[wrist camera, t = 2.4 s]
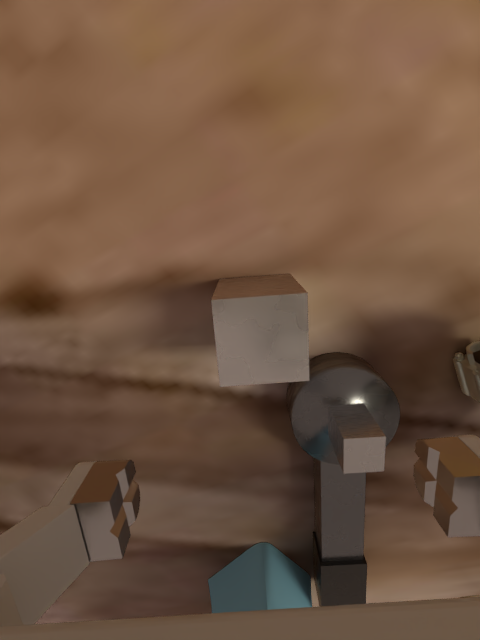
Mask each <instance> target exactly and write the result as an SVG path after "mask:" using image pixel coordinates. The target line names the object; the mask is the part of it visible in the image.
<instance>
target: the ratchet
mask: <svg viewBox="0 0 480 640" xmlns="http://www.w3.org/2000/svg"><path fill="white" fill-rule="evenodd" d="M286 401H287V407H288V411H289V415H290V419H291V424H292V428H293V432H294V435H295V437H296V440H297V441H298V443H299V445H300V446H301V447H302V448H303V450H304V451H306V452H307V453H308V454H309V455H311V456H312V457H314V505H315V532H313V556H314V581H315V586H316V591H317V596H318V601H319V606H336V605H352V604H366V579H367V562H366V560H365V557H364V554H363V548H364V517H365V485H366V472H380V471H384V464H385V447H386V446H387V445H388V444H389V442H390V441H391V440H392V438H393V436H394V435H395V433H396V431H397V428H398V425H399V420H400V408H399V403H398V400H397V398H396V396H395V394H394V392H393V391H392V389H391V388H390V387H389V386H388V385H387V383H386V382H385V381H384V380H383V379H382V378H381V377H380V375H379V374H378V373H377V372H376V371H375V370H374V369H373V368H372V367H371V366H370V365H369V364H368V363H367V362H366V361H364V360H363V359H361V358H359V357H357V356H355V355H352V354H348V353H340V352H337V353H327V354H323V355H320V356H317V357H314V358H313V359H311V360H309V381H299V382H290V383H289V386H288V389H287V396H286Z"/></svg>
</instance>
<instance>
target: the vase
mask: <svg viewBox="0 0 480 640" xmlns="http://www.w3.org/2000/svg"><path fill="white" fill-rule="evenodd" d="M208 584H209V590H210V597H211V606H212V613H224V612H240V611H256V610H272V609H288V608H304V607H312V600H311V578H310V575H309V574H308V573H307V572H305V571H304V570H303V569H302V568H301V567H299V566H298V565H297V564H296V563H294V562H293V561H292V560H290V559H289V558H288V557H287V556H285V555H284V554H283V553H282V552H280V551H279V550H278V549H277V548H275V547H274V546H273V545H271V544H270V543H266V542H264V543H258V544H255V545H254V546H252V547H251V548H249V549H248V550H246V551H245V552H244V553H242V554H241V555H240V556H239V557H237V558H236V559H235V560H233V561H232V562H231V563H229V564H228V565H227V566H225V567H224V568H223V569H222V570H220V571H219V572H218V573H216V574H215V575H214V576H212V577H211V578H210V579H208Z"/></svg>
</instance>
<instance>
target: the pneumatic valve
mask: <svg viewBox="0 0 480 640" xmlns="http://www.w3.org/2000/svg"><path fill="white" fill-rule="evenodd" d="M466 352H467V354H466V355H463V353H460V352H457V353H456V354H455V357H454V358H453V363H454V366H455V370H456V373H457V376H458V380H459V383H460V387H461V390H462V393H464V394H466V395H467V396H471V397H472V398H473V399H474V400H476V401H477V402H479V403H480V340H479V341H475V342H473V343H470V344H469V345H468V346H467V347H466Z"/></svg>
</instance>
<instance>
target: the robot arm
mask: <svg viewBox="0 0 480 640" xmlns="http://www.w3.org/2000/svg"><path fill="white" fill-rule="evenodd" d="M415 453H416V454H417V456H418V457H419V460H418V461H417V462H416V463H415V464H414V473H413V476H414V480H415V485H416V488H417V490H418V492H419V494H420V496H421V497H422V499H423V501H424V502H426V503H427V504H429V505H431V506H432V507H434V511H433V516H434V517H435V519H436V520H437V522H438V523H439V525H440V526H441V528H442V529H443V531H444V532H445V534H446V535H447V536H448V537H467V536H480V439H479V438H478V437H477V436H475V435H472V434H470V435H460V436H453V437H444V438H430V439H418V440H417V442H416V444H415ZM135 472H136V470H135V466H134V462H133V461H132V460H111V461H97V462H96V461H93V462H80V463H78V464H76V466H75V467H74V468H73V470H72V471H71V473H70V474H69V476H68V477H67V479H66V480H65V482H64V483H63V485H62V486H61V488H60V489H59V491H58V492H57V494H56V495H55V497H54V498H53V500H52V501H51V502H50V504H49V505H48V506H45V507H41V508H40V509H38V510H37V511H35V512H34V513H32V514H31V515H29V516H28V517H26V518H25V519H23V520H22V521H20V522H19V523H17V524H16V525H14V526H13V527H12V528H10V529H9V530H7V531H6V532H4V533H3V534H1V535H0V640H480V597H467V598H450V599H434V600H417V601H401V602H385V603H368V604H352V605H336V606H320V607H304V608H288V609H272V610H256V611H240V612H224V613H208V614H192V615H176V616H160V617H144V618H128V619H112V620H96V621H80V622H64V623H48V624H35V623H36V622H37V621H38V619H39V618H40V617H41V616H42V615H43V614H44V613H45V612H46V611H47V610H48V609H49V608H50V606H51V605H52V604H53V603H54V602H55V601H56V600H57V599H58V598H59V597H60V596H61V594H62V593H63V592H64V591H65V590H66V589H67V588H68V587H69V586H70V585H71V584H72V582H73V581H74V580H75V579H76V578H77V577H78V576H79V575H80V574H81V573H82V572H83V570H84V569H85V568H86V567H87V566H88V565H89V564H90V563H89V562H92V561H102V560H112V559H122V558H123V556H124V553H125V550H126V547H127V544H128V541H129V538H130V536H131V535H130V530H129V526H131V525H132V524H133V523H134V522H135V521H136V518H137V515H138V512H139V505H140V490H139V485H138V484H137V483H136V482H135V481H134V480H133V477H134V475H135Z"/></svg>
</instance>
